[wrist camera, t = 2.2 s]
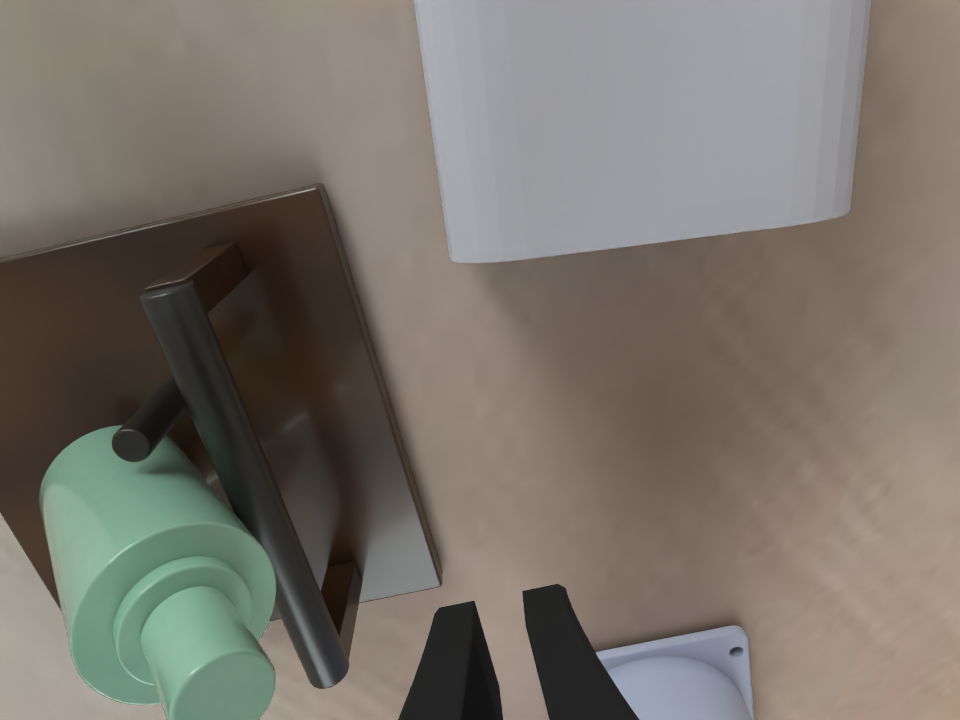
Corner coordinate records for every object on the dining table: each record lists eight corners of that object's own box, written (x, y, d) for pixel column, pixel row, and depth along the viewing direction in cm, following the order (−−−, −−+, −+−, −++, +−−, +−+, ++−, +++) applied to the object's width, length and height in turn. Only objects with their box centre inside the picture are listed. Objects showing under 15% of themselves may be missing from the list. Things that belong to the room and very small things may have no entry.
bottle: (362, 477, 21) (296, 794, 12) (114, 530, 21) (-146, 882, 12) (324, 365, 19) (212, 627, 10) (57, 425, 20) (-294, 735, 10)
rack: (443, 571, 24) (440, 699, 19) (100, 641, 24) (12, 782, 19) (323, 182, 18) (276, 219, 13) (-115, 284, 19) (-315, 355, 14)
